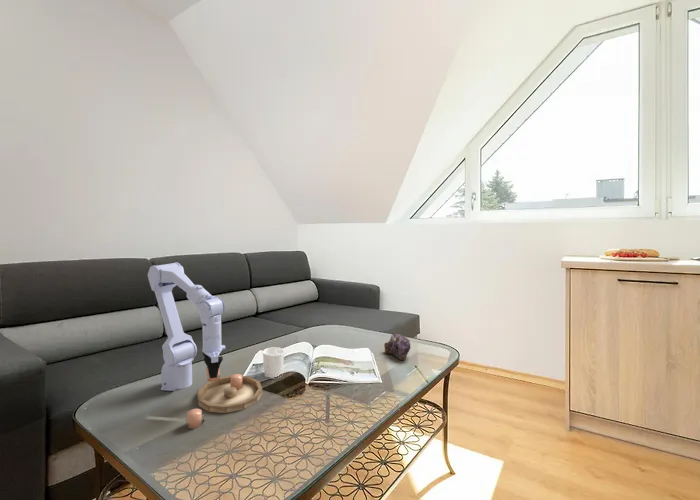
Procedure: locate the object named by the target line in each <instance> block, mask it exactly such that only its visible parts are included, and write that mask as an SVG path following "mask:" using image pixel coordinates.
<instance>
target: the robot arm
mask: <svg viewBox="0 0 700 500" xmlns="http://www.w3.org/2000/svg"><path fill="white" fill-rule="evenodd" d="M147 278H148V282H149V286H150V288H151V291H153V292H154V294H155V297H156V300H157V305H158V308H159V312H160V314H161V318H162V322H163V325H164V328H165V332H166V335H167V338H166V341H164V343H163V344H162V345H161V347H162V358H163V361H164V363H163V365H162V367H161V371H160V373H161V375H160V376H161V388H160V390H161V391H166V392H167V391H169V392H170V391H171V392H174V391H176V390H182V389H186V388H189V387H190V386H192V384H193V365H192V364H193V363H192V361H194V359H195V357H196V355H197V353H198V348H197V345H196V343H195V342H194V340H193V337H192V335H189V334H187V333H185V332H184V329H183V325H182V323H181V319H180V316H179V315H180V314H179V312H178V309H177V305H176V302H175V298H174V295H173V292H172V291H173V289H174V288H175V287H176V286H177V287H178V288H179V289H182V290H183V292H185V293H186V298H187V299H188V300H189V301H190V302H191V303H192V304H193V305H194V306H195V307H196V308H197V313H198V315H199V316H200V317H199V318H200V323H201V324H202V328H201V329H202V355H203V362H204V363H205V365H206V367H208V371H209V376H210V378H217V375H218V371H219V372H220V366H221V363H222V362H223V361H224V358H223V356H220V355H221V352H222V351H223V350H225V349H226V345H225V344H222V314H223V313H225V309H226V306H225V301H224V300H223V299H222V298H221V297H220V296H215V295H212V294H211V293H210V292H209V291H208V290H206V289H205V288H204V286H202V285H201V284H194V283H193V281H192V280H191V279H190V278H189V277H188V275H186V274H185V270H184V266H183V265H181V264H180V263H179V262H176V261H175V262H173V263H166V264H159V265H157V264H156V265H154V264H153V265H152V266H150V267H149V269H148V272H147Z"/></svg>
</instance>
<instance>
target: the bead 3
mask: <svg viewBox="0 0 700 500" xmlns="http://www.w3.org/2000/svg"><path fill="white" fill-rule="evenodd" d="M230 376H231V387H235V388H236V389H237V390H239V389H241V388H242V376H243V374H242V373H234V374H231V375H230Z"/></svg>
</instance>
